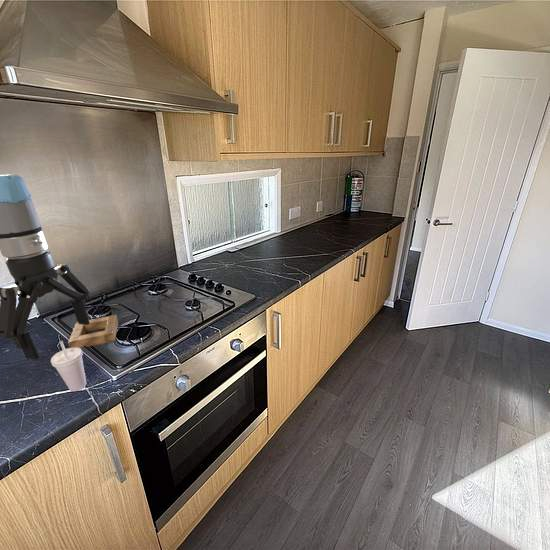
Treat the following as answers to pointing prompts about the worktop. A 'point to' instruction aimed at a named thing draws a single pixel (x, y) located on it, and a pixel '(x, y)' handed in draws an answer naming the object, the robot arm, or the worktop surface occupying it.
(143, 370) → the worktop surface
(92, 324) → the wooden tray
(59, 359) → the smoothie
